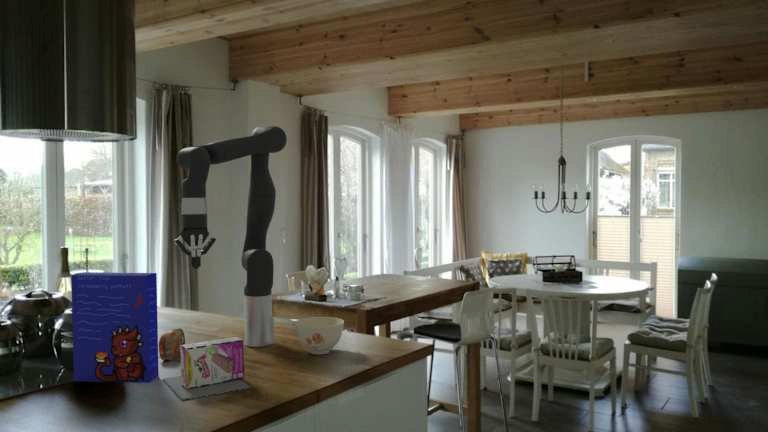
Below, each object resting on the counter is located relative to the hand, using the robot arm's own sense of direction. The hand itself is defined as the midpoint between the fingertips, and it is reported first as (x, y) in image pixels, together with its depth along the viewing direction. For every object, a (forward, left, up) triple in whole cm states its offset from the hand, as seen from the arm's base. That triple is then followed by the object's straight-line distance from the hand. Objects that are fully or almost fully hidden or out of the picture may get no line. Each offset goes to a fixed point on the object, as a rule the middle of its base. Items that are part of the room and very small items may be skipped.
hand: (195, 268), depth 190 cm
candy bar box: (-6, +24, -23) cm, 34 cm away
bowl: (-37, +11, -29) cm, 48 cm away
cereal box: (+24, +5, -29) cm, 38 cm away
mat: (+5, +24, -29) cm, 38 cm away
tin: (+5, -10, -29) cm, 31 cm away
